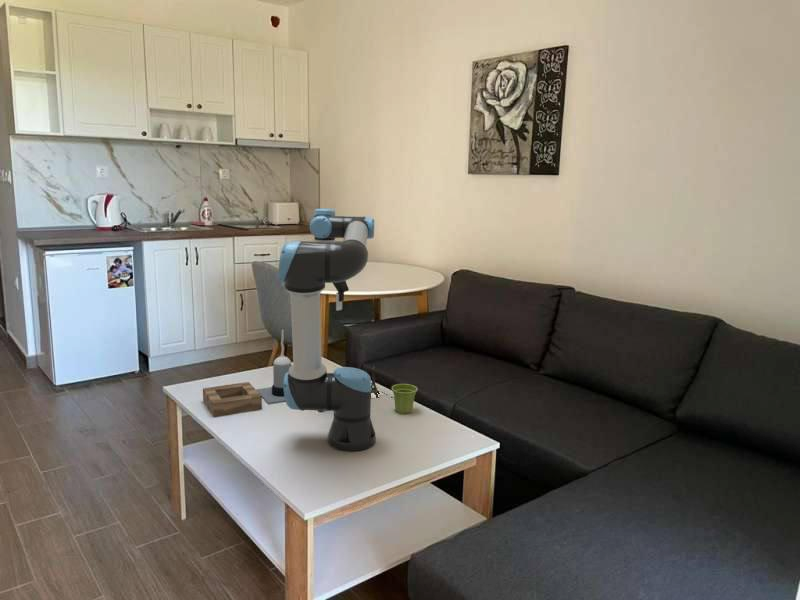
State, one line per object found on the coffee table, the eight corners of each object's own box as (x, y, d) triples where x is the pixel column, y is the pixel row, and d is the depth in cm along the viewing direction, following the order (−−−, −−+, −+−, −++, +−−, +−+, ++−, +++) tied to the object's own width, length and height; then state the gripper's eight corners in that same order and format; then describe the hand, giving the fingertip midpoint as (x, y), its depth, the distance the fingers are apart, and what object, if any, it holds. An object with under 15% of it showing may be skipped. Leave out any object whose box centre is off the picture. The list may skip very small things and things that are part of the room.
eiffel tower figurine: (396, 400, 225) (397, 366, 222) (375, 405, 218) (376, 371, 216) (373, 389, 236) (374, 357, 233) (352, 394, 230) (353, 361, 227)
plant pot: (417, 406, 217) (418, 384, 215) (415, 416, 208) (416, 393, 206) (392, 405, 218) (393, 383, 216) (389, 414, 209) (390, 391, 207)
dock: (261, 409, 210) (261, 396, 209) (213, 417, 202) (213, 403, 201) (248, 394, 225) (248, 381, 224) (203, 401, 216) (202, 388, 215)
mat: (309, 397, 223) (309, 396, 223) (268, 404, 215) (268, 402, 215) (295, 385, 236) (295, 383, 236) (255, 390, 228) (255, 389, 228)
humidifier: (296, 394, 224) (295, 331, 219) (274, 397, 220) (274, 333, 215) (290, 388, 231) (289, 326, 226) (269, 390, 227) (268, 328, 222)
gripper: (358, 253, 212) (357, 310, 216) (304, 247, 224) (304, 301, 228) (346, 254, 206) (345, 313, 210) (291, 249, 218) (292, 304, 222)
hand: (324, 307), depth 219 cm, fingers open, 13 cm apart
